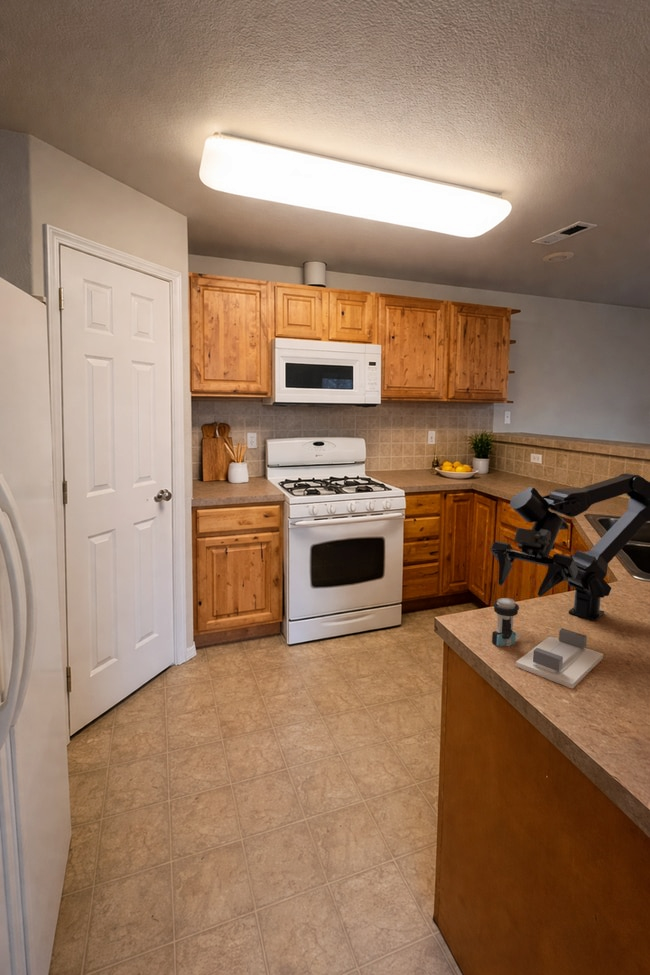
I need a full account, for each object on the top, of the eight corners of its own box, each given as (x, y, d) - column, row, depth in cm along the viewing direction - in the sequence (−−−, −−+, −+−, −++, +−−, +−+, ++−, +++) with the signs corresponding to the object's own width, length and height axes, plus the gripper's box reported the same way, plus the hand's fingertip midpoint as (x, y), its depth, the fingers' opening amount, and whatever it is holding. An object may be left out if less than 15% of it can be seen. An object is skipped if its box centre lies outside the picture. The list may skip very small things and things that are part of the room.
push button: (510, 635, 110) (513, 594, 109) (527, 646, 105) (529, 603, 104) (486, 640, 108) (488, 598, 107) (502, 651, 103) (504, 607, 102)
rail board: (549, 640, 108) (550, 622, 107) (602, 658, 100) (604, 639, 99) (515, 666, 97) (516, 646, 97) (572, 688, 89) (574, 667, 89)
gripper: (495, 508, 116) (469, 562, 111) (576, 521, 103) (551, 582, 97) (509, 534, 123) (485, 586, 117) (587, 549, 109) (564, 608, 103)
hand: (518, 590), depth 109 cm, fingers open, 9 cm apart
